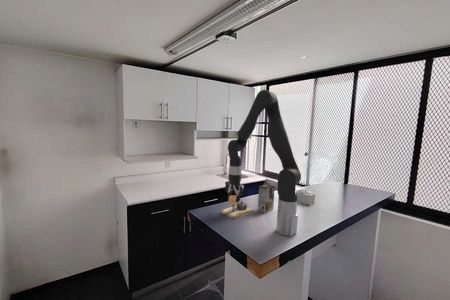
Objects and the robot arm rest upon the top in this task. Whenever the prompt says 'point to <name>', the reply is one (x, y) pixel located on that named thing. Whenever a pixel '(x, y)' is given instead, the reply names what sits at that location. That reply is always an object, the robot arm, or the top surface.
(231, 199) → the gear
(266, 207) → the coffee box
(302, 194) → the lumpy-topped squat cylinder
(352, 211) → the top surface
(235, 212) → the gear board
